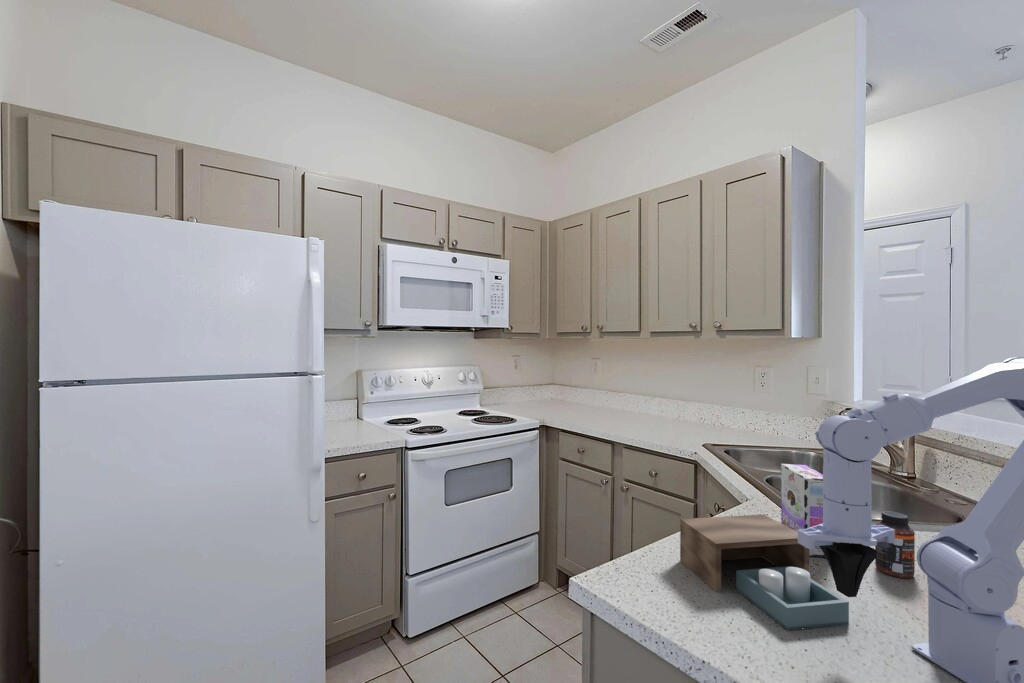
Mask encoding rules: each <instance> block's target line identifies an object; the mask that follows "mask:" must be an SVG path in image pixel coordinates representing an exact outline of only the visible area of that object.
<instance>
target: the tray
mask: <svg viewBox="0 0 1024 683" xmlns="http://www.w3.org/2000/svg"><path fill="white" fill-rule="evenodd" d="M735 571H736V572H735V573H736V575H735V576H736V577H735V584H736V585H735V590H736V591H737V593H740V594H741V595H742V596H743V597H745V598H746V599H747V600H748V601H749V602H751V603H752V604H753V605H754V606H756V607H757V608H758V610H760V611H762V612H763V613H764V612H765V613H764V614H765V615H767V616H768V617H769V616H770V617H769V618H771V620H773V619H774V620H775V623H777V624H778V623H779V624H780V625H779V624H778V625H779V626H781V627H782V626H783V627H784V628H785V629H784V628H783V627H782V628H783V629H784V630H786V631H787V630H790V631H796V630H795V629H800V630H803V629H802V628H809V629H814V628H813V627H819V628H822V627H821V626H828V627H834V626H835V625H838V626H847V624H848V625H849V623H850V618H849V617H850V616H849V615H850V614H849V613H850V609H849V608H850V605H849V603H850V601H848V600H846V599H845V598H843V597H841V596H840V595H838V594H837V593H835V592H833V591H832V590H830V589H829V588H826V587H825V586H823V585H822V584H820V583H818V582H817V581H815V580H814V579H812V578H811V573H810V571H809V572H808V571H806V570H804V569H801V568H798V567H791V566H787V567H777V566H775V567H765V568H749V569H738V570H735ZM774 620H773V621H774ZM835 627H836V626H835Z"/></svg>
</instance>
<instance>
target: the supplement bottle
mask: <svg viewBox="0 0 1024 683" xmlns="http://www.w3.org/2000/svg"><path fill="white" fill-rule="evenodd" d="M880 519H881V520H879V521H877V522H876V523H875V525H884V526H886V527H889V528H891V529H894V530H895V543H887V542H885V541H883V542H877V545H876V546H874V547H875V548H874V549H875V550H876V551H877V558H876V559H875V561H874V562H875V567H876V569H877V570H879V572H882V573H884V574H886V575H888V576H892V577H895V578H899V579H911V578H913V577H914V576H915V571H916V570H915V569H916V567H915V550H916V549H915V548H916V545H915V544H916V539H915V530H914V529H913V527H912V528H911V527H910V525H909V517H908V515H906V514H904V513H900V512H896V511H890V510H883V511H881V518H880Z"/></svg>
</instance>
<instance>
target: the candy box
mask: <svg viewBox="0 0 1024 683" xmlns="http://www.w3.org/2000/svg"><path fill="white" fill-rule="evenodd" d="M780 498H781V499H780V500H781V501H780V503H781V504H780V505H781V506H780V507H781V508H780V510H781V511H780V512H781V514H780V515H781V516H780V518H781V519H780V520H781V522H780V523H781V524H783V525H785V526H787V527H789V528H791V529H793V530H795V531H797V532H798V530H802V529H807V528H810V527H813V526H816V525H819V524H822V523H823V473H821V472H819V471H817V470H815V469H813V468H812V467H810V466H808V465H807V464H794V463H780ZM809 557H819V558H820V557H821V558H826V557H825V555H824V553H823V551H822V549H821V548H820V546H814V548H811V549H809Z"/></svg>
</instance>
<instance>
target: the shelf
mask: <svg viewBox="0 0 1024 683" xmlns="http://www.w3.org/2000/svg"><path fill="white" fill-rule="evenodd" d="M679 523H680V527H679V528H680V534H679V536H680V537H679V538H680V539H679V540H680V541H679V542H680V546H679V550H680V552H679V553H680V554H679V557H680V558H679V561H680V562H681V563H682V564H683V565H685V567H686V568H688V569H689V570H690V571H691V572H692V573H694V575H696V576H697V577H698V578H700V579H701V580H702V581H703V582H704V584H705V583H706V584H707V585H708V586H709V587H710V588H711V589H712V590H713V591H715V593H717V592H722V561H730V560H731V561H732V560H744V559H745V560H747V559H758V558H763V560H764V559H765V560H766V561H767V562H769V563H771V564H772V565H774V566H775V567H787V566H791V567H798V568H801V569H804V570H806V571H808V572H809V573H810V556H809V549H808V548H806V547H804V546H803V545H801V544H799V543H798V532H797V531H795V530H793V529H791V528H789V527H787V526H785V525H783V524H781V522H779V521H777V520H775V519H774V518H772V517H769V516H767V515H765V514H762V513H761V514H748V515H747V514H745V515H732V516H731V515H730V516H729V515H728V516H726V515H725V516H712V517H696V518H695V517H694V518H680V522H679Z"/></svg>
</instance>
